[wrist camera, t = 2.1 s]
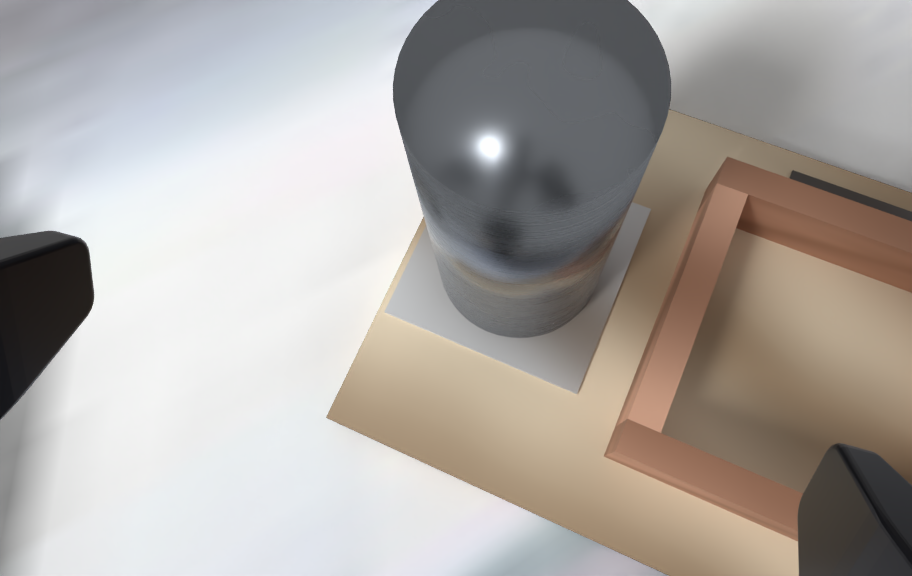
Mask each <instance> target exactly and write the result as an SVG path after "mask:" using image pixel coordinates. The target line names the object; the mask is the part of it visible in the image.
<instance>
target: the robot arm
mask: <svg viewBox="0 0 912 576" xmlns="http://www.w3.org/2000/svg"><path fill="white" fill-rule="evenodd" d="M93 302H94V288H93V280H92V271H91V262H90V254H89V248H88V246H87V244H86V243H85V242H84V241H83V240H82V239H81V238H78V237H75V236H71V235H68V234H64V233H60V232H56V231H44V232H37V233H31V234H24V235H17V236H11V237H4V238H0V420H1V419H2V418H3V417H4V416H5V415H6V414H7V413H8V412H9V411H10V410H11V409H12V407H13V406H14V405H15V404H16V403H17V402H18V401H19V400H20V398H21V397H22V396H23V395H24V394H25V392H26V391H27V390H28V389H29V388H30V386H31V385H32V384H33V383H34V381H35V380H36V379H37V378H38V377H39V375H40V374H41V373H42V372H43V370H44V369H45V368H46V367H47V365H48V364H49V363H50V362H51V360H52V359H53V358H54V357H55V355H56V354H57V353H58V352H59V351H60V349H61V348H62V347H63V346H64V344H65V343H66V342H67V341H68V339H69V338H70V337H71V336H72V334H73V333H74V332H75V331H76V329H77V328H78V327H79V326H80V325H81V323H82V322H83V321H84V320H85V318H86V317H87V316H88V314H89V312H90V311H91V309H92V306H93ZM797 522H798V562H799V576H912V485H911V484H910V483H909V482H908V481H907V480H905V479H904V478H903V477H902V476H901V475H900V474H899V473H898V472H897V471H896V470H895V469H894V468H892V467H891V466H890V465H889V464H888V463H887V462H886V461H885V460H884V459H883V458H882V457H881V456H879V455H878V454H877V453H875V452H873V451H870V450H866V449H862V448H859V447H855V446H851V445H847V444H843V443H836V444H834V445H832V446H831V447H830V448H829V449H828V450H827V451H826V453H825V454H824V456H823V458H822V460H821V462H820V463H819V465H818V467H817V469H816V471H815V473H814V474H813V476H812V478H811V480H810V482H809V484H808V485H807V487H806V489H805V491H804V493H803V495H802V497H801V500H800V503H799V507H798V515H797Z"/></svg>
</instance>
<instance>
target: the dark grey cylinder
mask: <svg viewBox="0 0 912 576" xmlns="http://www.w3.org/2000/svg"><path fill="white" fill-rule="evenodd" d="M670 99H671V79H670V71H669V65H668V62H667V58H666V55H665V52H664V49H663V47H662V45H661V42H660V40H659V38H658V36H657V34H656V33H655V31H654V30H653V28H652V27H651V25H650V24H649V22H648V21H647V20H646V19H645V17H644V16H643V15H642V14H641V13H640V12H639V10H638V9H637V8H635V7H634V6H633V5H632V4H631V3H630V2H629V1H628V0H438V1H437V2H436V3H435V4H434V5H433V6H432V7H431V8H430V9H428V10H427V11H426V12H425V13H424V14H423V16H422V17H421V18H420V19H419V21H418V22H417V23H416V24H415V26H414V27H413V29H412V30H411V32H410V34H409V35H408V37H407V38H406V40H405V42H404V45H403V47H402V49H401V51H400V54H399V57H398V61H397V64H396V68H395V74H394V81H393V102H394V108H395V114H396V118H397V122H398V126H399V129H400V133H401V136H402V140H403V143H404V147H405V151H406V154H407V158H408V161H409V165H410V168H411V172H412V176H413V179H414V183H415V186H416V190H417V194H418V197H419V201H420V204H421V208H422V211H423V215H424V219H425V222H426V226H427V229H428V233H429V236H430V240H431V244H432V247H433V251H434V254H435V258H436V262H437V265H438V269H439V272H440V276H441V279H442V283H443V286H444V289H445V291H446V293H447V295H448V297H449V299H450V300H451V302H452V303H453V305H454V306H455V308H456V309H457V310H458V311H459V312H460V313H461V314H462V315H463V316H464V317H465V318H466V319H467V320H468V321H470V322H471V323H473V324H474V325H476V326H477V327H479V328H481V329H483V330H485V331H487V332H490V333H493V334H496V335H499V336H504V337H511V338H530V337H535V336H541V335H544V334H547V333H550V332H552V331H554V330H557V329H559V328H561V327H562V326H564V325H565V324H567V323H568V322H570V321H571V320H572V319H573V318H574V317H576V316H577V315H578V314H579V313H580V311H581V310H582V309H583V308H584V307H585V305H586V304H587V302H588V301H589V299H590V298H591V296H592V293H593V291H594V289H595V287H596V285H597V282H598V280H599V278H600V275H601V273H602V271H603V268H604V266H605V264H606V261H607V259H608V257H609V254H610V252H611V250H612V247H613V245H614V243H615V240H616V238H617V236H618V233H619V231H620V229H621V226H622V224H623V222H624V219H625V217H626V215H627V212H628V210H629V208H630V205H631V203H632V201H633V198H634V196H635V194H636V191H637V189H638V187H639V184H640V182H641V180H642V178H643V175H644V173H645V171H646V168H647V166H648V164H649V161H650V159H651V157H652V154H653V152H654V150H655V147H656V145H657V143H658V140H659V138H660V136H661V133H662V131H663V128H664V125H665V122H666V119H667V116H668V111H669V105H670Z"/></svg>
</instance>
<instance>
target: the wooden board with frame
mask: <svg viewBox="0 0 912 576" xmlns="http://www.w3.org/2000/svg"><path fill="white" fill-rule="evenodd" d="M326 418H328V419H330V420H332V421H334V422H337V423H339V424H341V425H343V426H345V427H348V428H350V429H352V430H354V431H356V432H358V433H361V434H363V435H365V436H367V437H369V438H371V439H374V440H376V441H378V442H380V443H382V444H384V445H387V446H389V447H391V448H393V449H395V450H397V451H400V452H402V453H404V454H406V455H408V456H410V457H413V458H415V459H417V460H419V461H421V462H424V463H426V464H428V465H430V466H432V467H434V468H437V469H439V470H441V471H443V472H445V473H447V474H450V475H452V476H454V477H456V478H458V479H460V480H463V481H465V482H467V483H469V484H471V485H473V486H476V487H478V488H480V489H482V490H484V491H486V492H489V493H491V494H493V495H495V496H497V497H500V498H502V499H504V500H506V501H508V502H510V503H513V504H515V505H517V506H519V507H521V508H523V509H526V510H528V511H530V512H532V513H534V514H536V515H539V516H541V517H543V518H545V519H547V520H549V521H552V522H554V523H556V524H558V525H560V526H562V527H565V528H567V529H569V530H571V531H573V532H576V533H578V534H580V535H582V536H584V537H586V538H589V539H591V540H593V541H595V542H597V543H599V544H602V545H604V546H606V547H608V548H610V549H612V550H615V551H617V552H619V553H621V554H623V555H625V556H628V557H630V558H632V559H634V560H636V561H638V562H641V563H643V564H645V565H647V566H649V567H652V568H654V569H656V570H658V571H660V572H662V573H665V574H667V575H669V576H799V562H798V522H797V515H798V507H799V503H800V500H801V497H802V495H803V493H804V491H805V489H806V487H807V485H808V484H809V482H810V480H811V478H812V476H813V474H814V473H815V471H816V469H817V467H818V465H819V463H820V462H821V460H822V458H823V456H824V454H825V453H826V451H827V450H828V449H829V448H830V447H831V446H832V445H834V444H836V443H843V444H847V445H851V446H855V447H859V448H862V449H866V450H870V451H873V452H875V453H877V454H878V455H879V456H881V457H882V458H883V459H884V460H885V461H886V462H887V463H888V464H889V465H890V466H891V467H892V468H894V469H895V470H896V471H897V472H898V473H899V474H900V475H901V476H902V477H903V478H904V479H905V480H907V481H908V482H909V483H910V484H911V485H912V193H910V192H907V191H904V190H902V189H899V188H896V187H893V186H890V185H887V184H884V183H881V182H878V181H876V180H873V179H870V178H867V177H864V176H861V175H858V174H855V173H852V172H850V171H847V170H844V169H841V168H838V167H835V166H832V165H829V164H826V163H824V162H821V161H818V160H815V159H812V158H809V157H806V156H803V155H800V154H798V153H795V152H792V151H789V150H786V149H783V148H780V147H777V146H774V145H772V144H769V143H766V142H763V141H760V140H757V139H754V138H751V137H748V136H745V135H743V134H740V133H737V132H734V131H731V130H728V129H725V128H722V127H719V126H717V125H714V124H711V123H708V122H705V121H702V120H699V119H696V118H693V117H691V116H688V115H685V114H682V113H679V112H676V111H673V110H670V109H669V111H668V116H667V119H666V122H665V125H664V128H663V131H662V133H661V136H660V138H659V140H658V143H657V145H656V147H655V150H654V152H653V154H652V157H651V159H650V161H649V164H648V166H647V168H646V171H645V173H644V175H643V178H642V180H641V182H640V184H639V187H638V189H637V191H636V194H635V196H634V198H633V201H632V203H631V205H630V208H629V210H628V212H627V215H626V217H625V219H624V222H623V224H622V226H621V229H620V231H619V233H618V236H617V238H616V240H615V243H614V245H613V247H612V250H611V252H610V254H609V257H608V259H607V261H606V264H605V266H604V268H603V271H602V273H601V275H600V278H599V280H598V282H597V285H596V287H595V289H594V291H593V293H592V296H591V298H590V299H589V301H588V302H587V304H586V305H585V307H584V308H583V309H582V310H581V311H580V313H579V314H578V315H577V316H576V317H574V318H573V319H572V320H571V321H570V322H568V323H567V324H565V325H564V326H562V327H561V328H559V329H557V330H554V331H552V332H550V333H547V334H544V335H541V336H535V337H530V338H511V337H504V336H499V335H496V334H493V333H490V332H487V331H485V330H483V329H481V328H479V327H477V326H476V325H474V324H473V323H471V322H470V321H468V320H467V319H466V318H465V317H464V316H463V315H462V314H461V313H460V312H459V311H458V310H457V309H456V308H455V306H454V305H453V303H452V302H451V300H450V299H449V297H448V295H447V293H446V291H445V289H444V286H443V283H442V279H441V276H440V272H439V269H438V265H437V262H436V258H435V254H434V251H433V247H432V244H431V240H430V236H429V233H428V229H427V226H426V222H425V219H424V217H423V219H422V221H421V223H420V225H419V227H418V229H417V232H416V234H415V236H414V238H413V240H412V242H411V244H410V246H409V248H408V250H407V252H406V254H405V256H404V258H403V260H402V262H401V264H400V267H399V269H398V271H397V273H396V275H395V277H394V279H393V281H392V283H391V285H390V287H389V289H388V291H387V293H386V295H385V297H384V299H383V302H382V304H381V306H380V308H379V310H378V312H377V314H376V316H375V318H374V320H373V322H372V324H371V326H370V328H369V330H368V332H367V334H366V337H365V339H364V341H363V343H362V345H361V347H360V349H359V351H358V353H357V355H356V357H355V359H354V361H353V363H352V365H351V367H350V369H349V372H348V374H347V376H346V378H345V380H344V382H343V384H342V386H341V388H340V390H339V392H338V394H337V396H336V398H335V400H334V402H333V404H332V407H331V409H330V411H329V413H328V415H327V417H326Z"/></svg>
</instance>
